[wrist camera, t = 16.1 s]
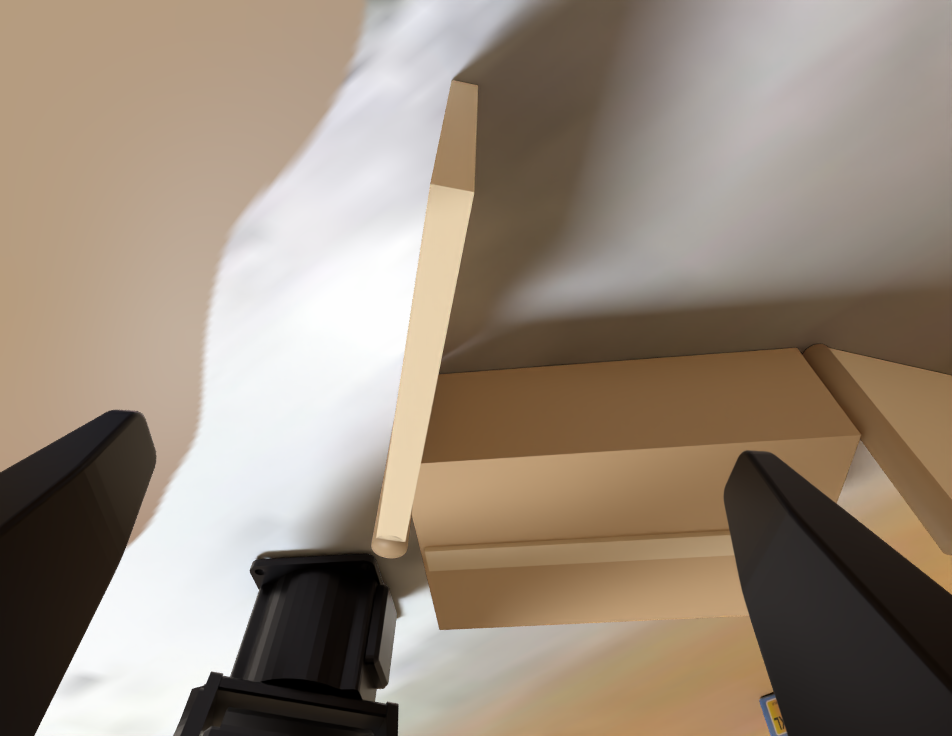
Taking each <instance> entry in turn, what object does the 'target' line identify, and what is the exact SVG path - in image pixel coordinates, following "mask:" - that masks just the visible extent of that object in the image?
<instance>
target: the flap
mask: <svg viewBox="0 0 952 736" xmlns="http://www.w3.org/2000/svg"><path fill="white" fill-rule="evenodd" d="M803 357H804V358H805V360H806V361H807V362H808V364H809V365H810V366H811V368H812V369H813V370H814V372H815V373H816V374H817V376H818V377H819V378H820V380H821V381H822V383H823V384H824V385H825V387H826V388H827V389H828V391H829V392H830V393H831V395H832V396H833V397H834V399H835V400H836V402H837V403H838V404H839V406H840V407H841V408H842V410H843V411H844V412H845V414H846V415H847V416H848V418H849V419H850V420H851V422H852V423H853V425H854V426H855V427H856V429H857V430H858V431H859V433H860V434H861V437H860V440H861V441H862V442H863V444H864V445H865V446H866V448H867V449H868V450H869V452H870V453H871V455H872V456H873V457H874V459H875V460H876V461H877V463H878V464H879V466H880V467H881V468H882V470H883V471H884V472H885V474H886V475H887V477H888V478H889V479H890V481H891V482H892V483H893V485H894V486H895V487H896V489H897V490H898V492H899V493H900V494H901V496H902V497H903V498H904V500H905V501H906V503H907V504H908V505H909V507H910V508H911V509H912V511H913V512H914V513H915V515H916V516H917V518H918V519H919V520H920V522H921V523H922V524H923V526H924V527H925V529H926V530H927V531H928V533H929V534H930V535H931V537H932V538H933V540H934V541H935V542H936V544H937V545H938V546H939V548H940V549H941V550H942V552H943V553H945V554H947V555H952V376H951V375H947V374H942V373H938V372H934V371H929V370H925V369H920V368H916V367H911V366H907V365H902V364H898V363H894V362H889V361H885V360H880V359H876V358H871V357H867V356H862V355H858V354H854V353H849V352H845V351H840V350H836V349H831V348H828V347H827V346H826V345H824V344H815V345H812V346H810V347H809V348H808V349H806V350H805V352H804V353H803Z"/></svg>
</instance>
